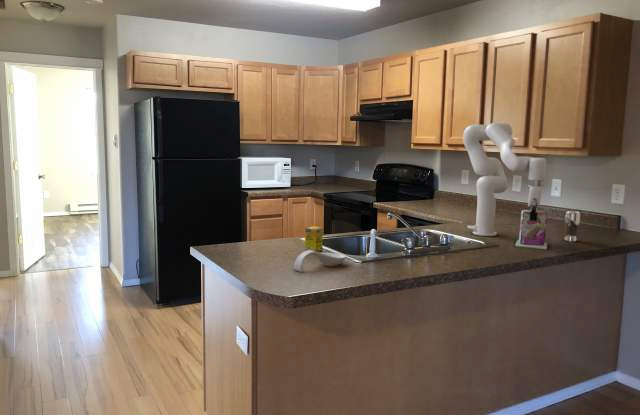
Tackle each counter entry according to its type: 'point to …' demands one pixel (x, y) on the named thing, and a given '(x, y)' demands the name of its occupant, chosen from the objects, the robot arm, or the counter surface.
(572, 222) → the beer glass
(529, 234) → the candy bar box
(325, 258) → the spoon rest
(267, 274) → the counter surface
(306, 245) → the supplement box
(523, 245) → the mat
